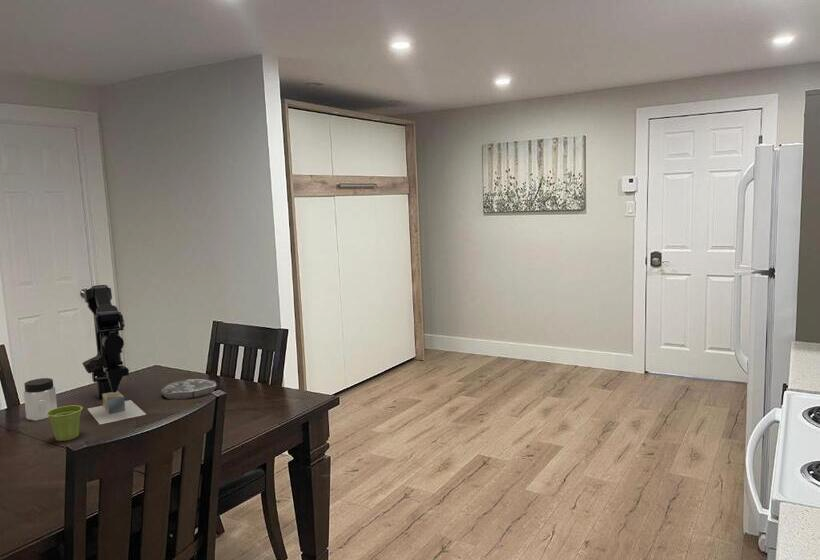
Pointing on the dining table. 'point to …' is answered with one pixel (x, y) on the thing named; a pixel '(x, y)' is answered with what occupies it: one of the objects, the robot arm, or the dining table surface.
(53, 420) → the plant pot
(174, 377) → the dining table surface
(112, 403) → the birch block
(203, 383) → the brain slice
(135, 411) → the grey mat
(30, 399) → the jar
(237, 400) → the dining table surface
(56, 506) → the dining table surface
